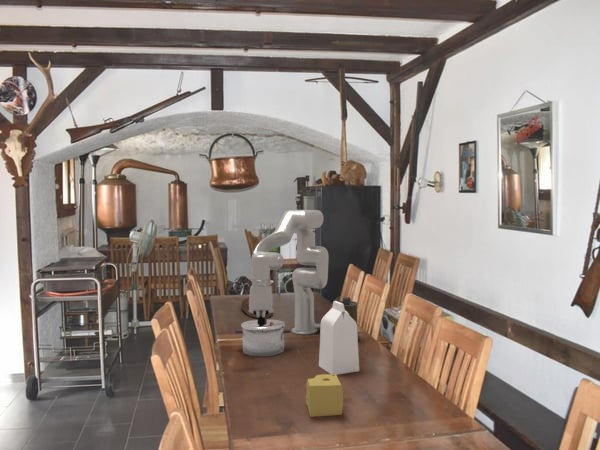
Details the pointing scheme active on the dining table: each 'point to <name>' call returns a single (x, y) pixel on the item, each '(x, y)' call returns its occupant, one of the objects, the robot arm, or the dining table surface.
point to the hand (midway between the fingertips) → (261, 325)
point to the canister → (350, 307)
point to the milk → (338, 341)
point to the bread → (246, 309)
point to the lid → (267, 326)
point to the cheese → (324, 395)
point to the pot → (263, 341)
